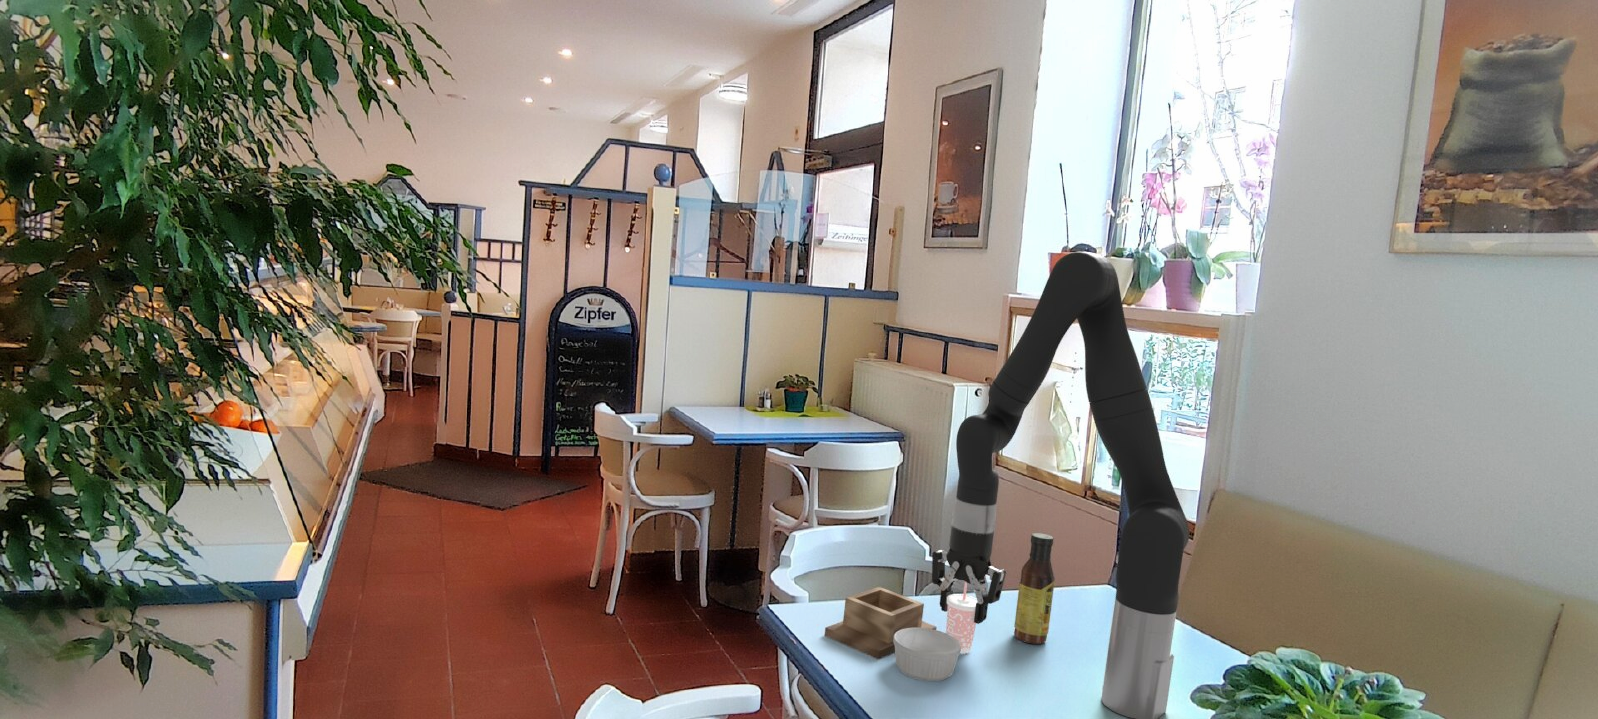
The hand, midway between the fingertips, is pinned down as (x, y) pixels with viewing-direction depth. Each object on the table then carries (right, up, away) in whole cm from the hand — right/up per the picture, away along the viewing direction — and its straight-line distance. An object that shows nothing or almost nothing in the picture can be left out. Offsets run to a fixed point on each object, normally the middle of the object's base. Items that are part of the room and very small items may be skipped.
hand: (961, 615), depth 163 cm
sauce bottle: (+14, -7, +9) cm, 18 cm away
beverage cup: (-1, -6, +1) cm, 6 cm away
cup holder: (-14, -4, +3) cm, 15 cm away
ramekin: (-8, -7, -10) cm, 14 cm away
